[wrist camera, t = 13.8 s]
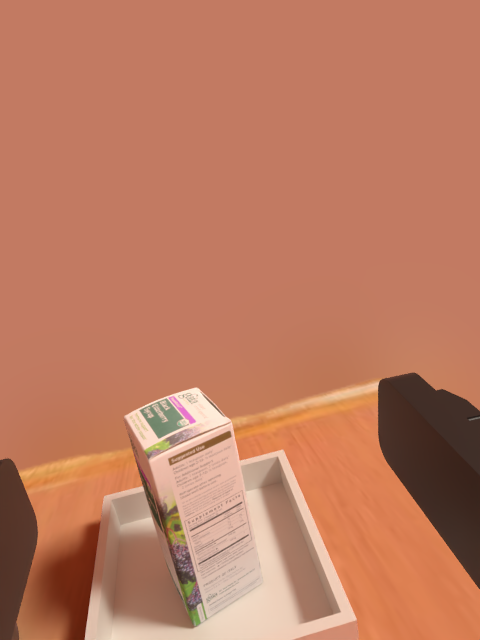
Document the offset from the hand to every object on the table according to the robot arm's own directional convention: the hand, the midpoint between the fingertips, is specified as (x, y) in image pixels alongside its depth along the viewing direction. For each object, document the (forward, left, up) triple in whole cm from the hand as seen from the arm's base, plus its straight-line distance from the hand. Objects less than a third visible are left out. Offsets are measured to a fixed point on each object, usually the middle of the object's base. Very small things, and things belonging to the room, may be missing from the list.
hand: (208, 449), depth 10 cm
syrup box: (-2, +17, -24) cm, 30 cm away
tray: (-2, +17, -25) cm, 30 cm away
